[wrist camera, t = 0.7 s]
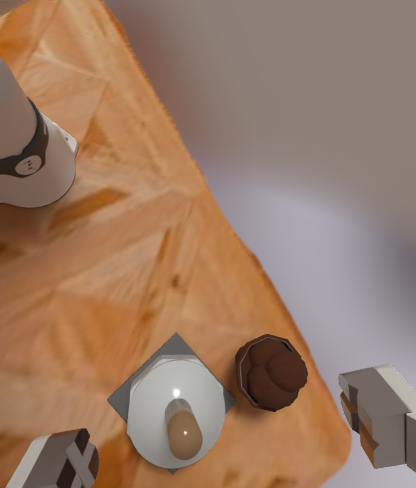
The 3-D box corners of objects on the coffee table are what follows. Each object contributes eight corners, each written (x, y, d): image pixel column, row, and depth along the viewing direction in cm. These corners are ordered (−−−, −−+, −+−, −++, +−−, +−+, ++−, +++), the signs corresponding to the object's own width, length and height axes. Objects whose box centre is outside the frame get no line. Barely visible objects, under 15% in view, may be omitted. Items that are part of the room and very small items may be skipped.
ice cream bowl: (227, 323, 52) (258, 331, 38) (282, 337, 54) (331, 350, 40) (213, 383, 50) (241, 416, 35) (271, 396, 51) (319, 433, 37)
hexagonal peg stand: (110, 402, 45) (95, 446, 32) (178, 336, 50) (190, 350, 36) (170, 470, 45) (181, 545, 31) (233, 398, 49) (267, 436, 36)
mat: (107, 399, 46) (107, 400, 45) (176, 332, 50) (176, 332, 50) (172, 473, 46) (172, 474, 45) (236, 399, 50) (236, 400, 50)
